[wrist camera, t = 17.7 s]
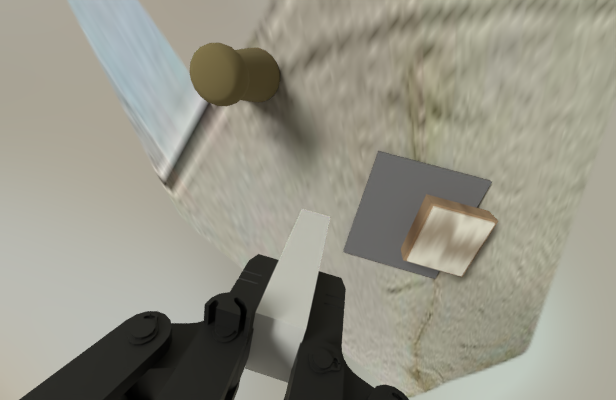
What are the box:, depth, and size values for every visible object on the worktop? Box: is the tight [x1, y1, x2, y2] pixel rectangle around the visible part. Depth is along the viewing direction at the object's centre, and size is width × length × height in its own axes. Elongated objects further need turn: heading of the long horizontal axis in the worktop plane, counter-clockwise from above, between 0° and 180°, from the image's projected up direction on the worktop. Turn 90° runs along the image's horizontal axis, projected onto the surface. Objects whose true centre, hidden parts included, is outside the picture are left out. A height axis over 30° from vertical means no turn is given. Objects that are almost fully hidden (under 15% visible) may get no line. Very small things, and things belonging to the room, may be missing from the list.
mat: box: [344, 151, 492, 279], centre depth 36 cm, size 16×14×1 cm
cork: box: [190, 43, 280, 106], centre depth 27 cm, size 6×6×11 cm
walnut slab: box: [401, 194, 498, 277], centre depth 34 cm, size 9×3×8 cm
